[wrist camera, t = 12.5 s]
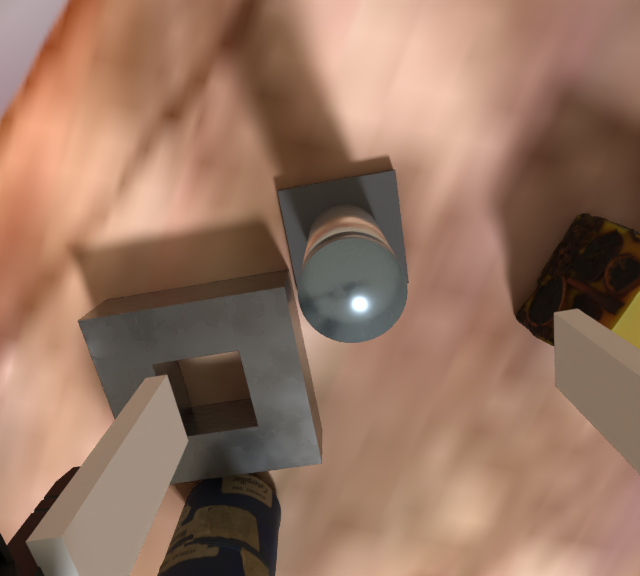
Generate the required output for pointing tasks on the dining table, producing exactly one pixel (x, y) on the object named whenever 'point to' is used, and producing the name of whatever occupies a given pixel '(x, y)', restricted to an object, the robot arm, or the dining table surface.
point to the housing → (208, 339)
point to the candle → (590, 280)
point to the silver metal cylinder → (350, 277)
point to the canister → (226, 530)
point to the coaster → (362, 191)
